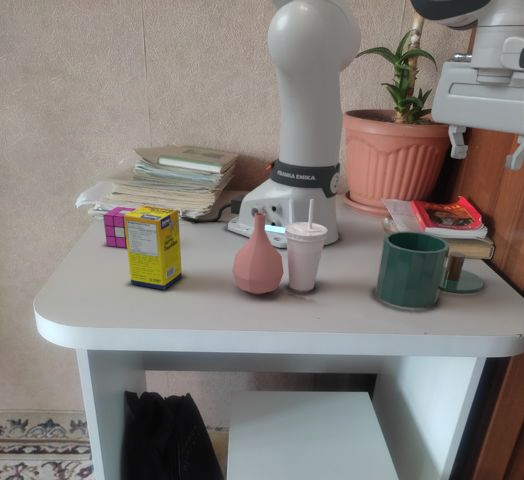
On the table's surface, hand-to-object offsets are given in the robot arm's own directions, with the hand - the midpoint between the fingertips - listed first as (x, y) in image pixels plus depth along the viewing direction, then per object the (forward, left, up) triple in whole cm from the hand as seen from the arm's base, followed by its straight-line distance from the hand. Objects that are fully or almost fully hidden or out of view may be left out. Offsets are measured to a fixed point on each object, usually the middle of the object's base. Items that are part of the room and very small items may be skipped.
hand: (483, 163), depth 75 cm
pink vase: (-25, -22, -19) cm, 38 cm away
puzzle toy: (-56, -18, -19) cm, 61 cm away
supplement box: (-40, -28, -19) cm, 52 cm away
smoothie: (-20, -17, -19) cm, 32 cm away
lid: (-1, 0, -19) cm, 18 cm away
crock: (-5, -10, -19) cm, 22 cm away
